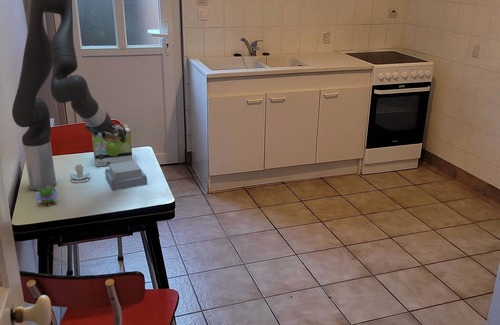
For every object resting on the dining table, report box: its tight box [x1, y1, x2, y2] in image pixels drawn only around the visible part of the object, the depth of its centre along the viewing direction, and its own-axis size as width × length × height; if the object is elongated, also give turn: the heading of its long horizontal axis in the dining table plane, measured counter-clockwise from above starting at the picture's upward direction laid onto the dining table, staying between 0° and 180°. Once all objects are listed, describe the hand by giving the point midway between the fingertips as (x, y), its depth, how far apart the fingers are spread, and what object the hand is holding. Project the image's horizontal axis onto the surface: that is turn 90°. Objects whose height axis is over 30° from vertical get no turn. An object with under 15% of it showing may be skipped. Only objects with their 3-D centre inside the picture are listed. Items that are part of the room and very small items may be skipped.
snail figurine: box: [105, 132, 121, 156], centre depth 174 cm, size 5×6×12 cm
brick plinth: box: [104, 160, 148, 191], centre depth 187 cm, size 13×13×6 cm
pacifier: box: [69, 163, 91, 184], centre depth 187 cm, size 7×6×6 cm
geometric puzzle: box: [35, 185, 58, 206], centre depth 168 cm, size 7×7×8 cm
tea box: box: [91, 124, 133, 168], centre depth 205 cm, size 15×10×15 cm, turn 111°
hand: (116, 139), depth 176 cm, fingers closed on snail figurine, 5 cm apart
